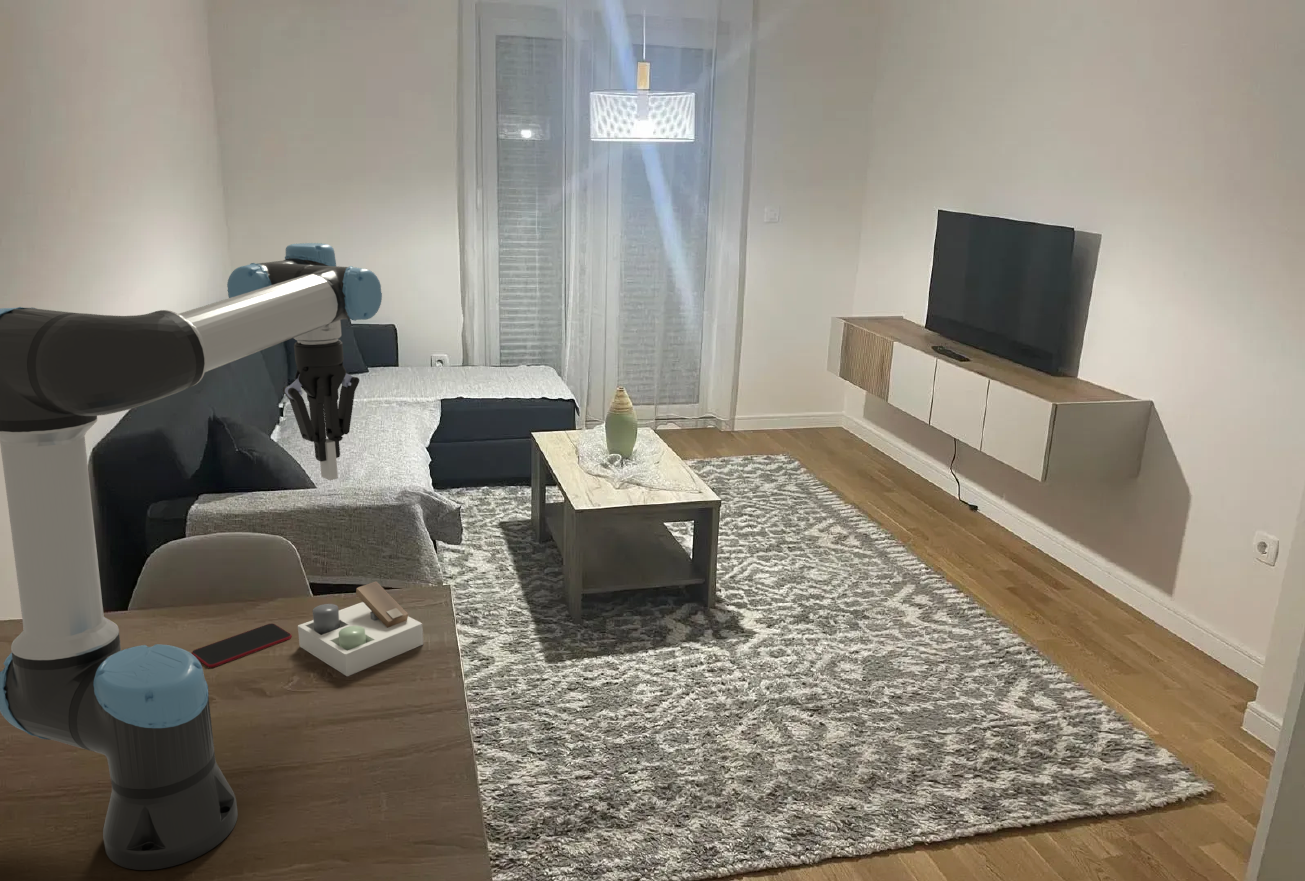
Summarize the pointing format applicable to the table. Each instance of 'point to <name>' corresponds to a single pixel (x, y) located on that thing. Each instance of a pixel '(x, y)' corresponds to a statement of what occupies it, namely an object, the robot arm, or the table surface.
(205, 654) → the smartphone
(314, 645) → the panel
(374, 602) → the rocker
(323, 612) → the button graphite
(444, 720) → the table surface
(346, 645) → the button sage
